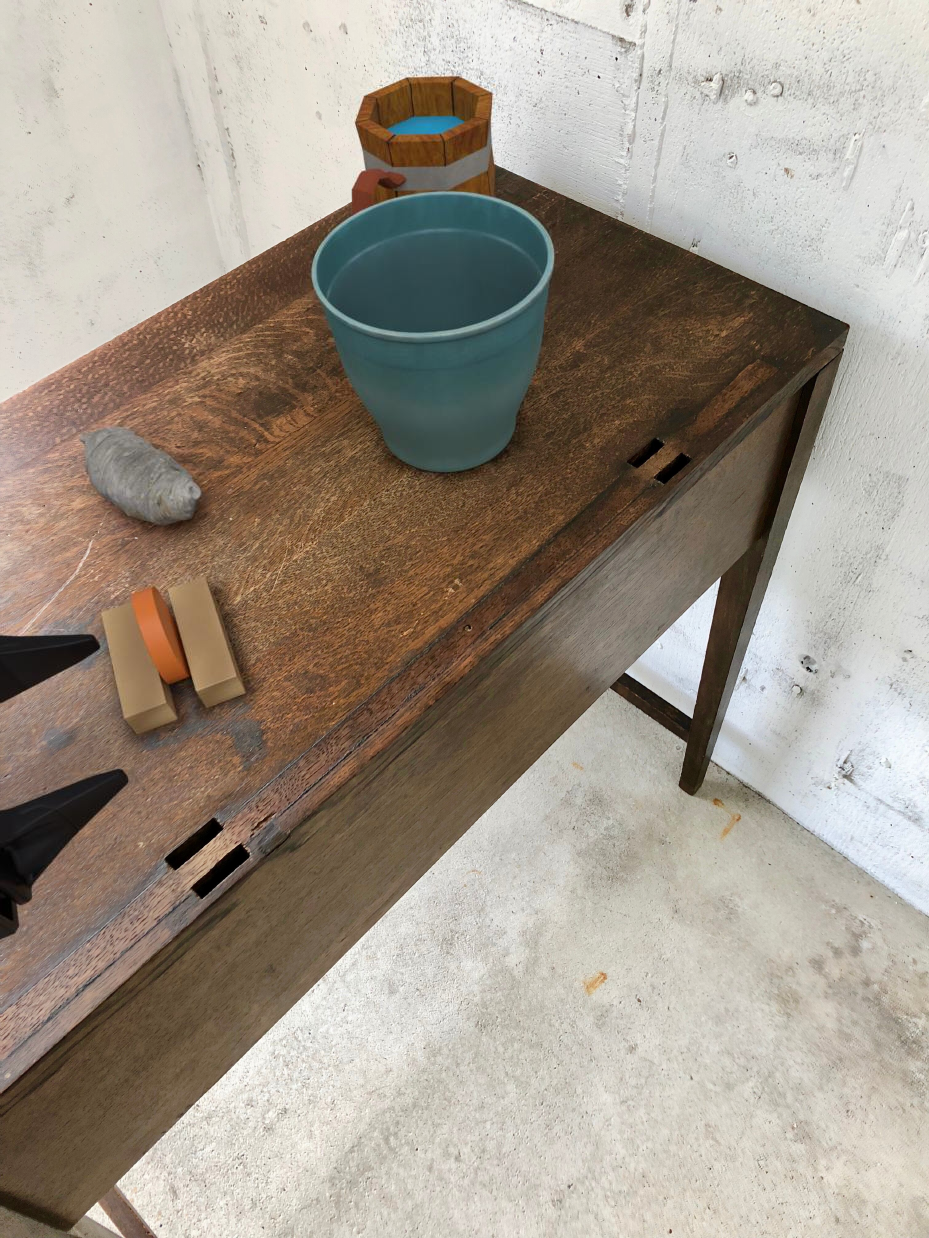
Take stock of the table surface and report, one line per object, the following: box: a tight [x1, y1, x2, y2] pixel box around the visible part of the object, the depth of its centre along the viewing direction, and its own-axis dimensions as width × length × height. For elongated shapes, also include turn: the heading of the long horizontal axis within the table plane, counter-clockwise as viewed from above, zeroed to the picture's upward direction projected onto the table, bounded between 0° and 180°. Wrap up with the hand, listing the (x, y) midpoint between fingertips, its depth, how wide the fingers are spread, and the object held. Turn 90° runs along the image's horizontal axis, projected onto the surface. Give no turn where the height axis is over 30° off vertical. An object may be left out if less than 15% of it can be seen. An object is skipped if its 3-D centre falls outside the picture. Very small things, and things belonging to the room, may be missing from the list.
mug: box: [351, 75, 496, 216], centre depth 87 cm, size 20×14×15 cm
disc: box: [131, 586, 191, 685], centre depth 63 cm, size 2×7×7 cm, turn 23°
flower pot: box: [311, 192, 555, 473], centre depth 72 cm, size 18×18×17 cm
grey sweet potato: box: [78, 426, 203, 526], centre depth 73 cm, size 6×14×8 cm, turn 50°
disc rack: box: [100, 575, 247, 736], centre depth 65 cm, size 8×10×2 cm
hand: (110, 704), depth 48 cm, fingers open, 9 cm apart
